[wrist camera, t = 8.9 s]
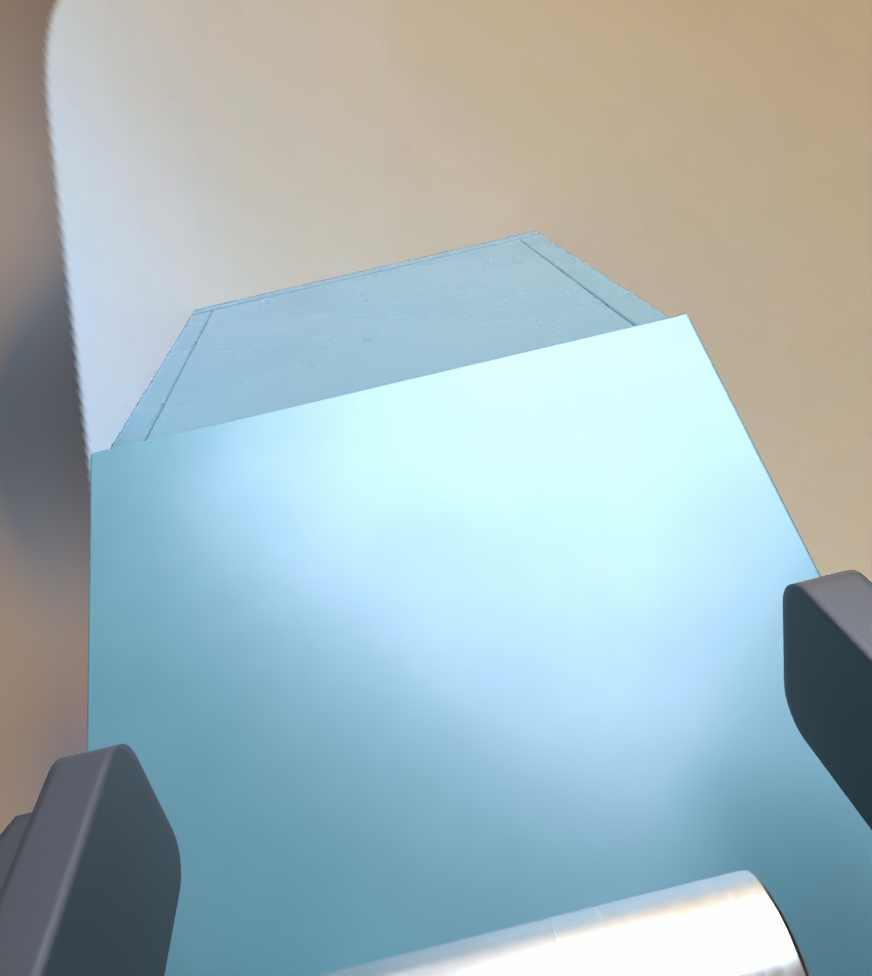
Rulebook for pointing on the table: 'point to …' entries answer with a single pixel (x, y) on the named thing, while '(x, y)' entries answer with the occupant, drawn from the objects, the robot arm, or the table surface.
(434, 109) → the table surface
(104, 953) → the robot arm
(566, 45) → the table surface
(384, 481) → the lid
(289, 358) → the bread bin
